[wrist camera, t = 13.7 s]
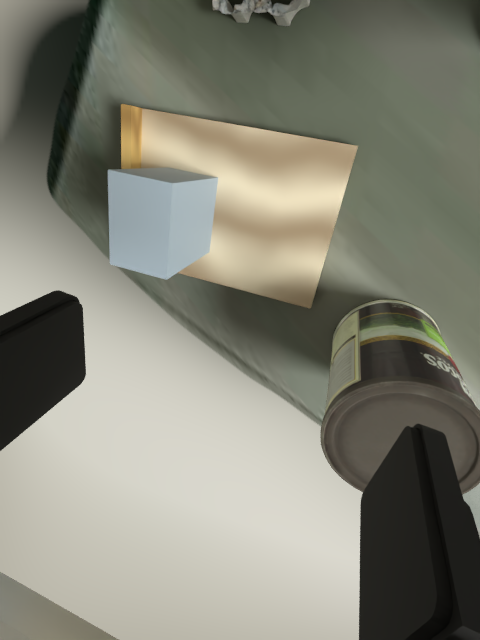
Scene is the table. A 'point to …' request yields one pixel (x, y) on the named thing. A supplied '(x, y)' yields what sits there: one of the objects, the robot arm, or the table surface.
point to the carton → (159, 218)
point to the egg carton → (261, 9)
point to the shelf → (251, 197)
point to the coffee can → (394, 392)
